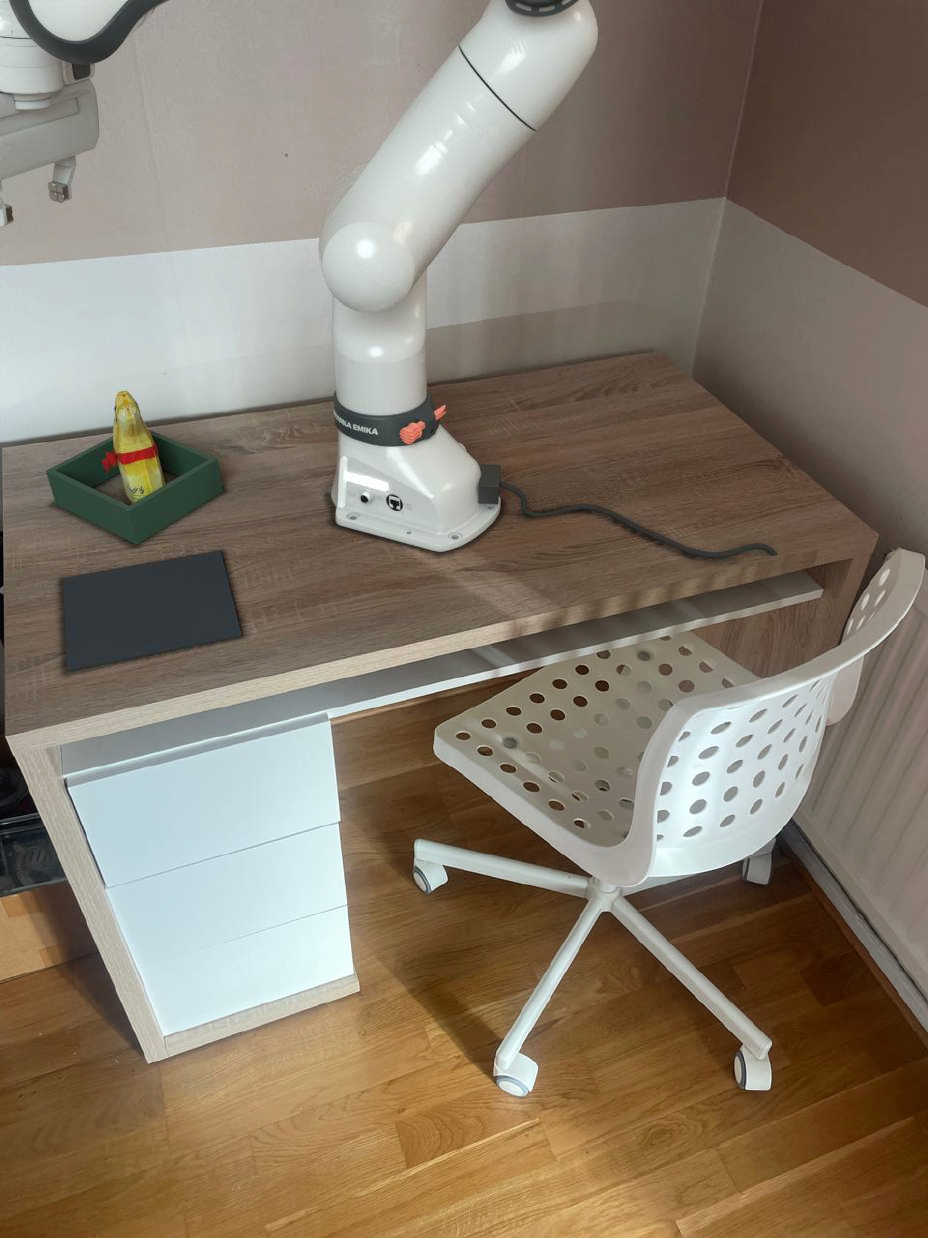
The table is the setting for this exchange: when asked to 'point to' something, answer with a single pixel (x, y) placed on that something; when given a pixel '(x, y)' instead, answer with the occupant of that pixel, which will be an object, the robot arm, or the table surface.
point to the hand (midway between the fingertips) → (32, 211)
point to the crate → (151, 511)
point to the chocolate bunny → (134, 450)
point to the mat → (147, 609)
